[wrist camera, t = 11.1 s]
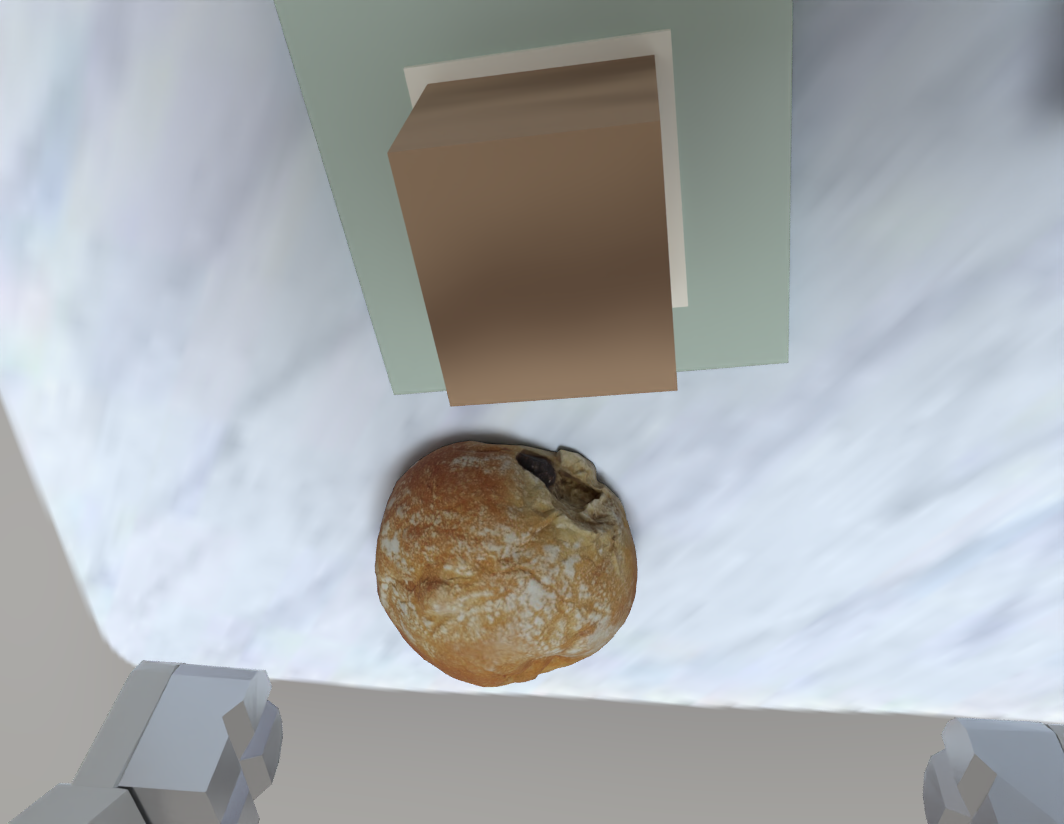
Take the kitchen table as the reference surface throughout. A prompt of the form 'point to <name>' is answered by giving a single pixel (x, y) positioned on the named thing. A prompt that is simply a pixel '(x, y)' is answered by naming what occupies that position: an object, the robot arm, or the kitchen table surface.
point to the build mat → (555, 41)
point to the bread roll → (504, 561)
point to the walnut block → (541, 231)
